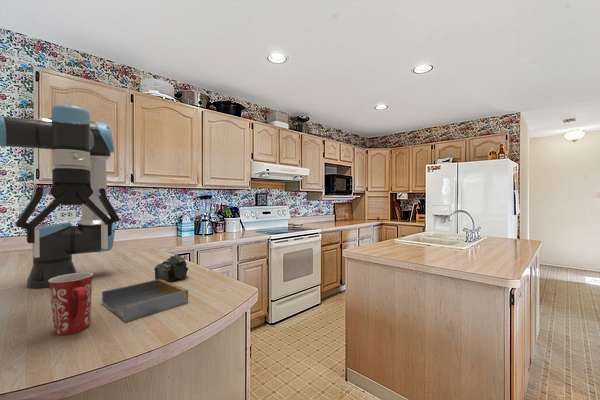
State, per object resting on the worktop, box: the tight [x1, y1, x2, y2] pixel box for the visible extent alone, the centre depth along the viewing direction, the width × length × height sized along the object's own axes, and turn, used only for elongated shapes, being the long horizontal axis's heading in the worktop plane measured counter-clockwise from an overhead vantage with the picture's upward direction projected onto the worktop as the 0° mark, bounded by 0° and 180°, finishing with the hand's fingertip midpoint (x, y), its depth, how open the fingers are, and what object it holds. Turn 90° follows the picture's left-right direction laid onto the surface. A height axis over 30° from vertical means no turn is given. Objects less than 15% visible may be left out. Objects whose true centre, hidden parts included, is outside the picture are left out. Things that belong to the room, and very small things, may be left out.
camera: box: [153, 254, 189, 283], centre depth 114 cm, size 13×10×10 cm
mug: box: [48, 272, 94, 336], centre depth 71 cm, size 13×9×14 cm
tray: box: [101, 279, 189, 323], centre depth 89 cm, size 20×18×4 cm
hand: (73, 252), depth 71 cm, fingers open, 13 cm apart
